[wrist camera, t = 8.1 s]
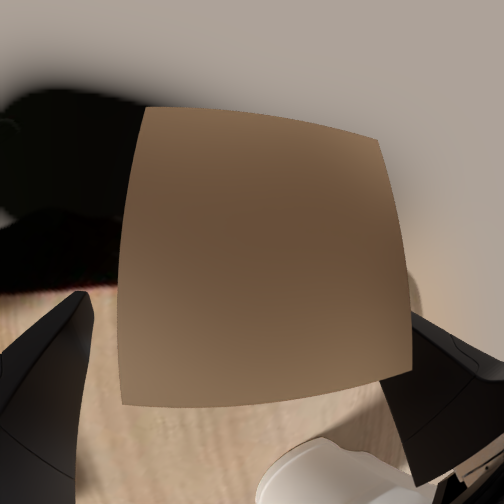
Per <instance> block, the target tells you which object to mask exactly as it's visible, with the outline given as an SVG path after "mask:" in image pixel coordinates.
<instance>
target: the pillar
mask: <svg viewBox="0 0 504 504" xmlns="http://www.w3.org/2000/svg"><path fill="white" fill-rule="evenodd" d="M117 342H118V364H119V378H120V389H121V399H122V405H133V406H147V407H168V408H207V407H229V406H243V405H254V404H264V403H273V402H280V401H287V400H294V399H300V398H306V397H312V396H317V395H322V394H327V393H332V392H336V391H341V390H345V389H349V388H354V387H357V386H361V385H365V384H369V383H372V382H376V381H379V380H383V379H386V378H389V377H393V376H396V375H399V374H402V373H405V372H408V371H411V370H412V323H411V307H410V295H409V284H408V276H407V268H406V261H405V254H404V248H403V242H402V235H401V230H400V225H399V220H398V216H397V211H396V206H395V201H394V197H393V193H392V189H391V185H390V181H389V177H388V174H387V170H386V166H385V163H384V159H383V156H382V153H381V150H380V146H379V143H378V140H376V139H373V138H369V137H366V136H362V135H359V134H355V133H351V132H348V131H343V130H340V129H335V128H332V127H327V126H323V125H318V124H314V123H309V122H304V121H299V120H293V119H288V118H282V117H276V116H270V115H263V114H255V113H248V112H239V111H229V110H217V109H204V108H183V107H146V110H145V113H144V117H143V121H142V125H141V129H140V133H139V137H138V141H137V145H136V150H135V155H134V159H133V165H132V169H131V175H130V180H129V186H128V192H127V198H126V204H125V212H124V219H123V227H122V236H121V246H120V258H119V273H118V295H117Z"/></svg>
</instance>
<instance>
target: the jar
mask: <svg viewBox="0 0 504 504" xmlns="http://www.w3.org/2000/svg"><path fill="white" fill-rule="evenodd" d="M436 489H437V486H436V485H434V484H429V483H426V484H424V485H422V486H420V487H417V488H416V487H415V484H414V481H413V478H412V476H411V475H409V474H407V473H405V472H403V471H401V470H399V469H397V468H395V467H393V466H391V465H389V464H387V463H385V462H383V461H381V460H379V459H378V458H377V457H376V456H374V455H372V454H370V453H367V452H364V451H359V452H355V451H348V450H345V449H342V448H340V447H339V446H338V445H337V444H335V443H334V442H332V441H331V440H329V439H326V438H323V437H320V438H317V439H314V440H311V441H308V442H306V443H303V444H301V445H299V446H297V447H296V448H294V449H292V450H291V451H289V452H288V453H286V454H285V455H283V456H282V457H281V458H280V459H278V460H277V461H276V462H275V463H274V464H273V465H272V466H271V467H270V468H269V469H268V470H267V472H266V473H265V474H264V476H263V477H262V479H261V481H260V483H259V485H258V488H257V491H256V504H432V502H433V499H434V496H435V492H436Z"/></svg>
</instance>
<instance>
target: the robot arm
mask: <svg viewBox="0 0 504 504" xmlns="http://www.w3.org/2000/svg"><path fill="white" fill-rule="evenodd" d="M411 323H412V370H411V371H408V372H405V373H402V374H399V375H396V376H393V377H389V378H386V379H383V380H379V382H380V384H381V387H382V390H383V392H384V395H385V397H386V400H387V403H388V405H389V408H390V411H391V413H392V416H393V419H394V422H395V425H396V427H397V430H398V433H399V436H400V439H401V442H402V445H403V448H404V452H405V455H406V458H407V461H408V464H409V467H410V471H411V474H412V478H413V481H414V484H415V487H416V488H417V487H420V486H422V485H424V484H426V483H428V482H430V481H431V480H433V479H435V478H437V477H439V476H441V475H443V474H444V473H446V472H448V471H450V470H451V469H453V470H454V472H452V473H451V474H450V475H448V476H447V477H446V478H445V479H443V480H442V481H441V482H439V483H438V485H437V489H436V492H435V496H434V499H433V502H432V504H504V362H502V361H499V360H497V359H495V358H494V357H491V356H490V355H488V354H486V353H484V352H482V351H480V350H478V349H476V348H474V347H472V346H471V345H469V344H467V343H465V342H464V341H462V340H460V339H458V338H457V337H455V336H453V335H452V334H449V333H448V332H446V331H445V330H443V329H441V328H440V327H438V326H436V325H434V324H432V323H431V322H429V321H428V320H426V319H424V318H422V317H421V316H419V315H417V314H415V313H414V312H412V311H411ZM93 324H94V311H93V307H92V304H91V300H90V297H89V294H88V293H87V292H86V291H75V292H73V293H72V294H71V295H69V296H68V297H67V298H66V299H64V300H63V301H62V302H61V303H59V304H58V305H57V306H55V307H54V308H53V309H52V310H50V311H49V312H48V313H47V314H46V315H44V316H43V317H42V318H41V319H39V320H38V321H37V322H36V323H35V324H34V325H32V326H31V327H30V328H29V329H28V330H26V331H25V332H24V333H23V334H22V335H21V336H20V337H18V338H17V339H16V340H15V341H14V342H13V343H12V344H10V345H9V346H8V347H7V348H6V349H5V350H4V351H3V352H2V354H0V504H75V463H76V446H77V435H78V425H79V417H80V409H81V403H82V396H83V390H84V384H85V379H86V374H87V369H88V363H89V356H90V347H91V339H92V331H93Z"/></svg>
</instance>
